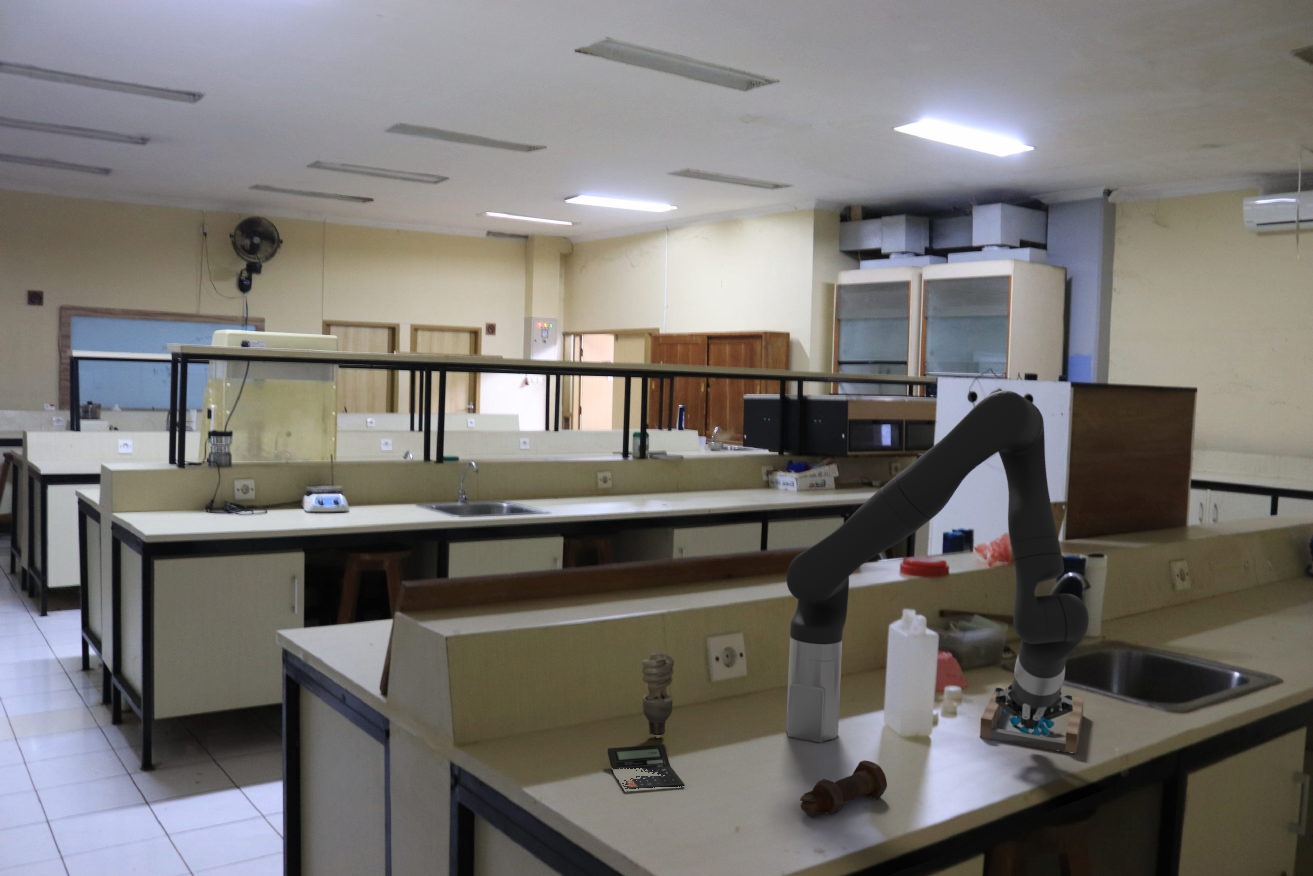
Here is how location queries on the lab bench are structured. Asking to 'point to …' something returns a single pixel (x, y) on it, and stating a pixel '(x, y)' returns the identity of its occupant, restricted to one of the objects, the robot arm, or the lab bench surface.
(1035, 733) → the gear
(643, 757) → the calculator
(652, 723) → the light bulb
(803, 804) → the bolt
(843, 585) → the robot arm
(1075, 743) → the chute
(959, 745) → the lab bench surface
